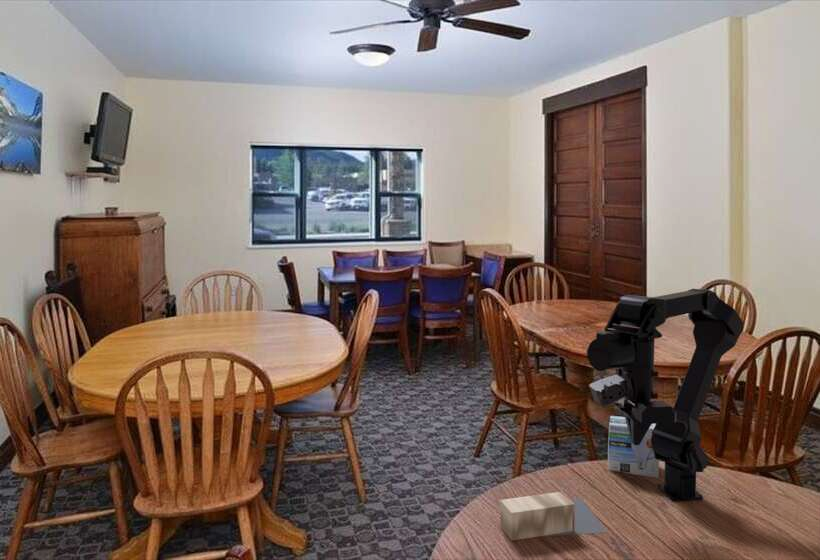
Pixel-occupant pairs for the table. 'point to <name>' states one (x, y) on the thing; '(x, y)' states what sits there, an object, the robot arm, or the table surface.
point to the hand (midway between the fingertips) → (635, 444)
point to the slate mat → (583, 520)
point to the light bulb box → (630, 450)
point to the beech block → (537, 515)
